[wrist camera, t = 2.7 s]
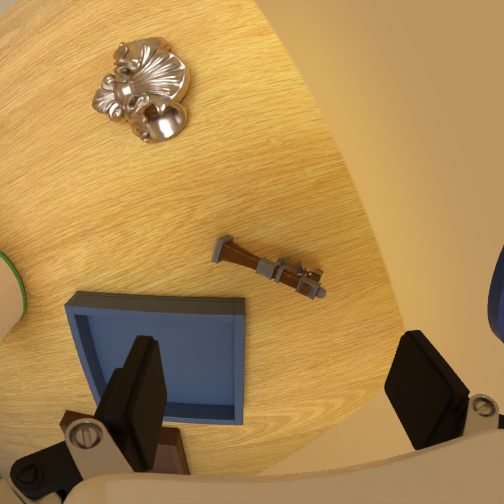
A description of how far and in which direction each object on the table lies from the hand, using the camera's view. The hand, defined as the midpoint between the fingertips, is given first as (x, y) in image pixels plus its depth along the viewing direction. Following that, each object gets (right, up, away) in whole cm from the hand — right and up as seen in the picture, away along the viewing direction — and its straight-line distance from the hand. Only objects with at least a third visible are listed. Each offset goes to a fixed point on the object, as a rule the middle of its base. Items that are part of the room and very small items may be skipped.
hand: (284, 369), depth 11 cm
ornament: (-9, +16, +8) cm, 20 cm away
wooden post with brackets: (0, +4, +13) cm, 13 cm away
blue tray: (-9, -5, +16) cm, 19 cm away
